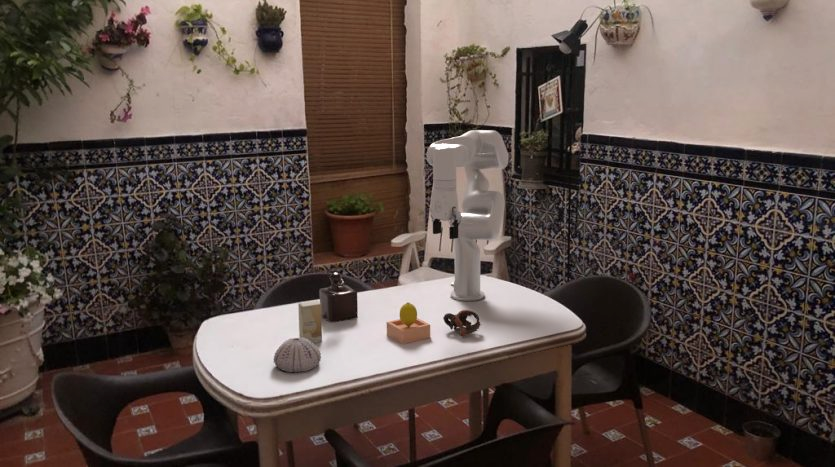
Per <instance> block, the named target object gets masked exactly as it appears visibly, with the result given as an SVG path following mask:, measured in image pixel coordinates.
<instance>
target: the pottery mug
mask: <svg viewBox="0 0 835 467" xmlns="http://www.w3.org/2000/svg"><path fill="white" fill-rule="evenodd" d="M471 316H473V317H474V318H475V319H476V322H475V323H474V324H472V322H471V321H469V320H467V318H468V317H471ZM442 320H443V321H444V323H445V325H447V326H448V327H449V328H450V330H451V331H452V330H453V329H454V330H456V329H457V328H459V329H460V332H459V334H458V335H459V336H460V337H462V338H464V337H465V336H467V335H470V334H473V333H476V332H477V331H478V330H479V329H480V326H481V325H482V324H481V321H480V317H479V315H478V313H476V312H475V311H473V310H470V309H469V310H468V309H463V310H460V311H458V313H456V314H453V313H450V312H449V313H445V314H444V316H443V319H442Z"/></svg>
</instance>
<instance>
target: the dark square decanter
mask: <svg viewBox="0 0 835 467" xmlns="http://www.w3.org/2000/svg"><path fill="white" fill-rule="evenodd" d="M329 281H331V284H330V286H329V285H327V286H328V287H324V288H319V289H318V290H319V291H318V292H319V293H318V294H319V303H320V304H321V318H323V319H324V320H326V321H328V322H330V323H335V322H341V321H342V322H344V321H348V320H353V319H357V318H358V308H359V306H358V292H357V291H356V290H354V289H353V288H352V287H351V286H349V285H347V284H345V281H344V279H343V278H342V275H341V273H340V270H339V269H336V270H335V272H332V273H330V275H329Z"/></svg>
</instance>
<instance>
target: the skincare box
mask: <svg viewBox="0 0 835 467" xmlns="http://www.w3.org/2000/svg"><path fill="white" fill-rule="evenodd" d="M297 304H298V305H297V306H298V332H299V334H298V335H299V336H298V338H301V337H303V338H306V339H308V340H310V341H311V342H312V343H313V344H314V343H316V342H317V343H318V342H323V332H322V331H323V330H322V328H323V327H322V326H323V324H322V321H323V320H322V316H321V304H320V301H318V300H311V301H305V302H304V301H303V302H298V303H297Z"/></svg>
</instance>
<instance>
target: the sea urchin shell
mask: <svg viewBox="0 0 835 467" xmlns="http://www.w3.org/2000/svg"><path fill="white" fill-rule="evenodd" d="M321 354H322V353H321V350H320V349H319V348H318V346H317V345H315V343H314V342H313V343H312V342H311V341H310V340H308V339H306V338H303V337H301V338H299V337H293V338H289V339H287V340H285V341H283V343H281V344H280V346H279V347H278V348H277V349H276V351H275V352H274V356H273V363H274V365H275V366H276V368H278V369H280V370H282V371H285V372H287V373H300V372H307V371H309V370H313V369H314V368H316V366H318V365H319V364H320V362H321V361H322V360H321V359H322V355H321Z"/></svg>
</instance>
